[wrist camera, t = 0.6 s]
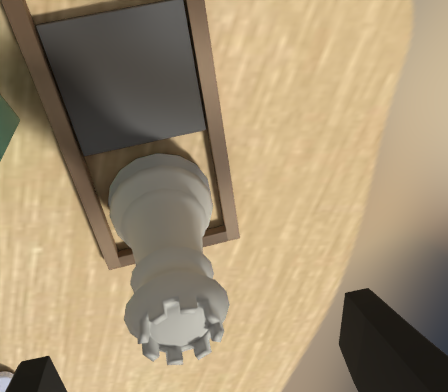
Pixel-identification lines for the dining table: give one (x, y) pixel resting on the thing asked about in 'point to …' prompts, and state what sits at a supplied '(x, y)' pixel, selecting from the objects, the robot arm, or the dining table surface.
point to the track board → (126, 93)
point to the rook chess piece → (168, 256)
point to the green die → (6, 125)
